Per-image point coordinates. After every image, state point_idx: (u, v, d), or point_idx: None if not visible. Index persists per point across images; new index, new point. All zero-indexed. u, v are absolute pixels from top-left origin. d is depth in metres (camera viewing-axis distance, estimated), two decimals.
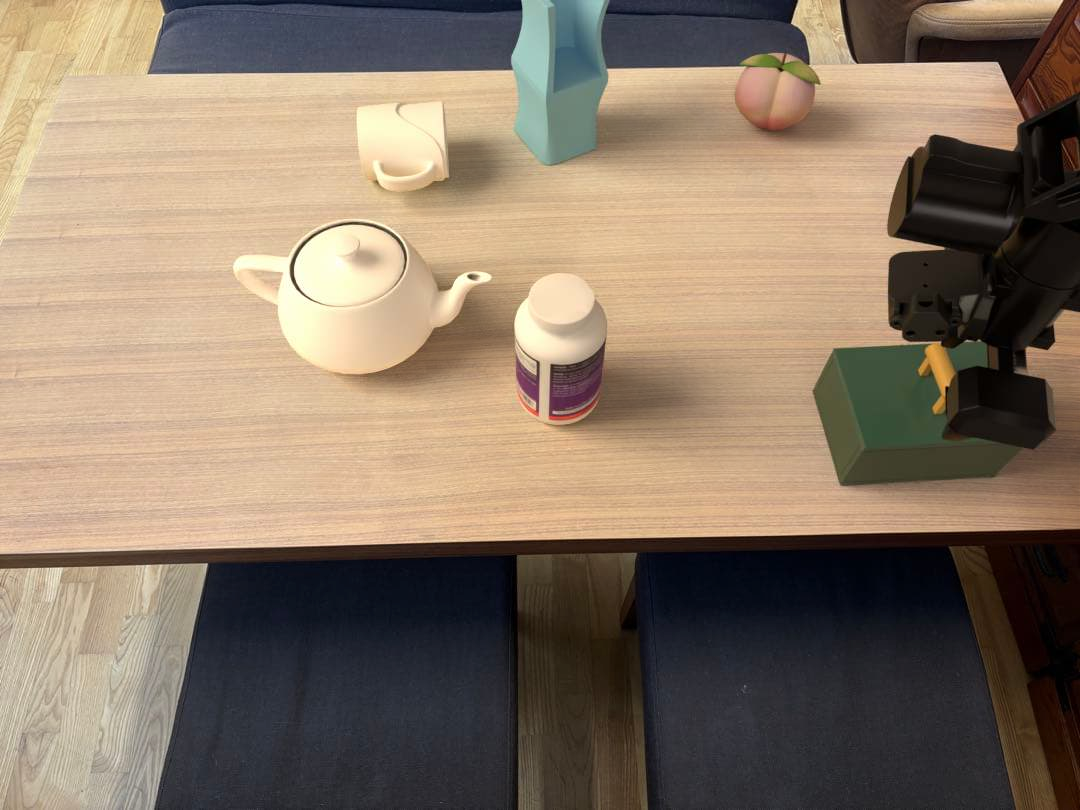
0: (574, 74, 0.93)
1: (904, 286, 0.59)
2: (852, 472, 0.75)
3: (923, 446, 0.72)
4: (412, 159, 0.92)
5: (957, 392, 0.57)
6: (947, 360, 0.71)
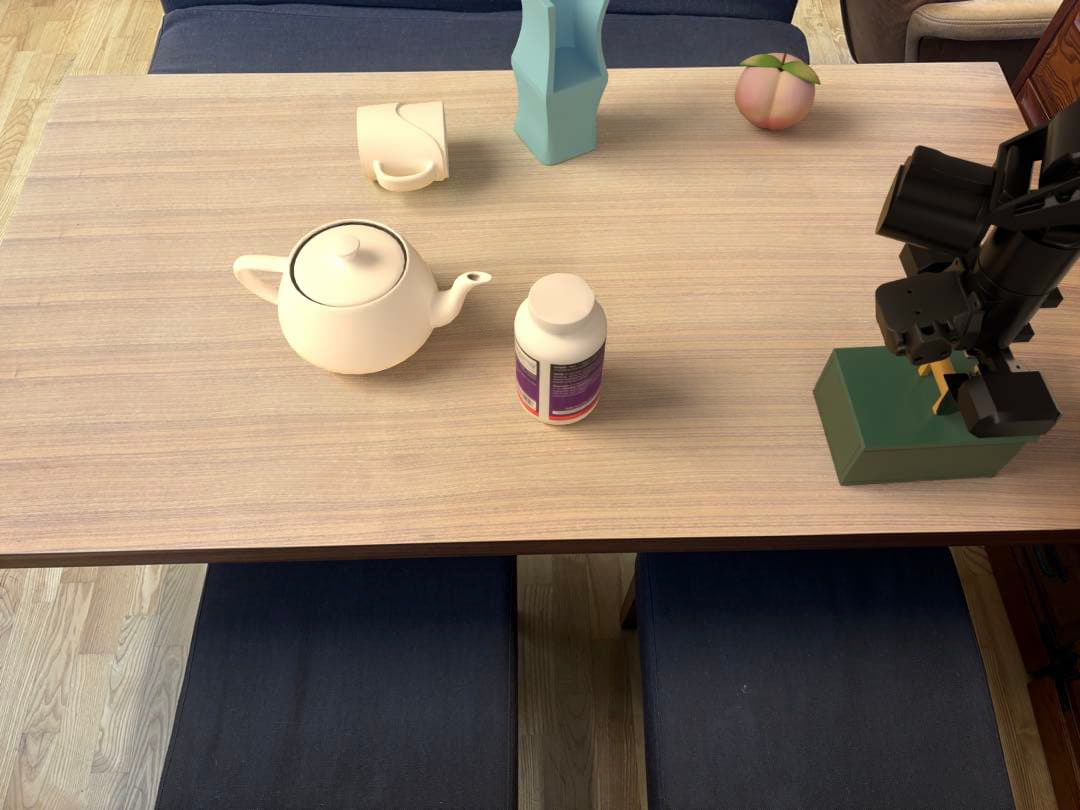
0: (574, 74, 0.93)
1: (899, 316, 0.63)
2: (852, 472, 0.75)
3: (923, 446, 0.72)
4: (412, 159, 0.92)
5: (970, 401, 0.62)
6: (947, 360, 0.71)
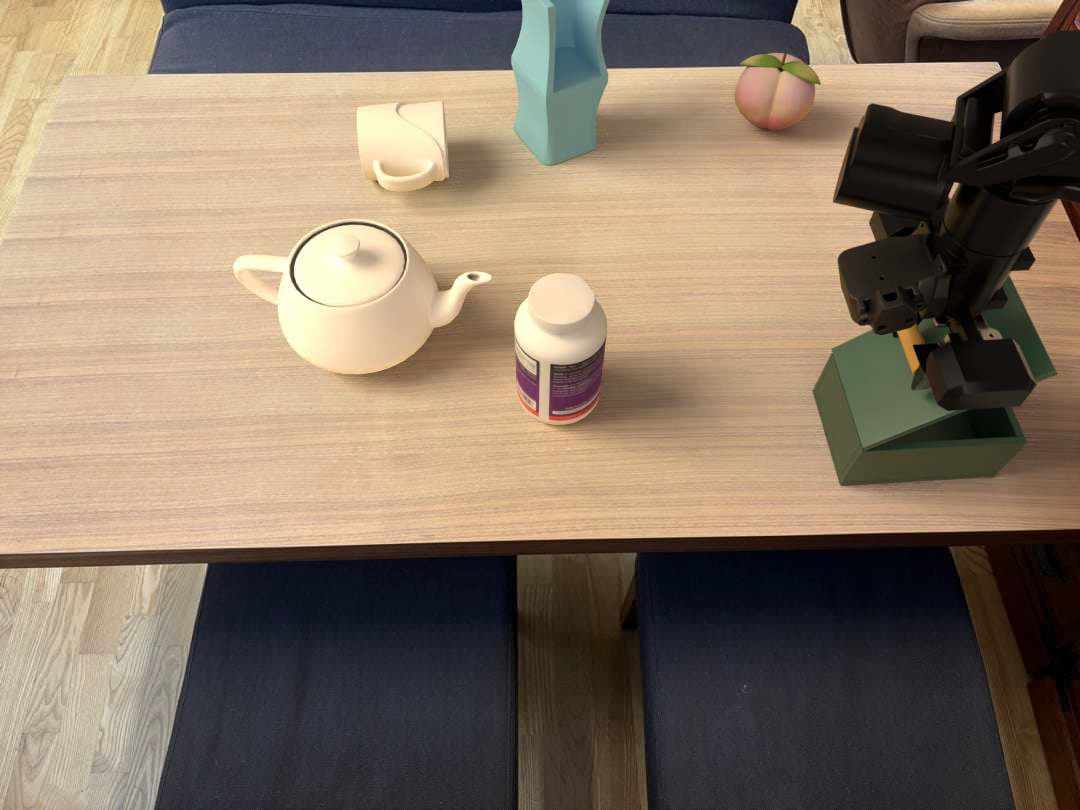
0: (574, 74, 0.93)
1: (861, 283, 0.60)
2: (852, 472, 0.75)
3: (923, 425, 0.69)
4: (412, 159, 0.92)
5: (938, 372, 0.59)
6: (910, 334, 0.68)
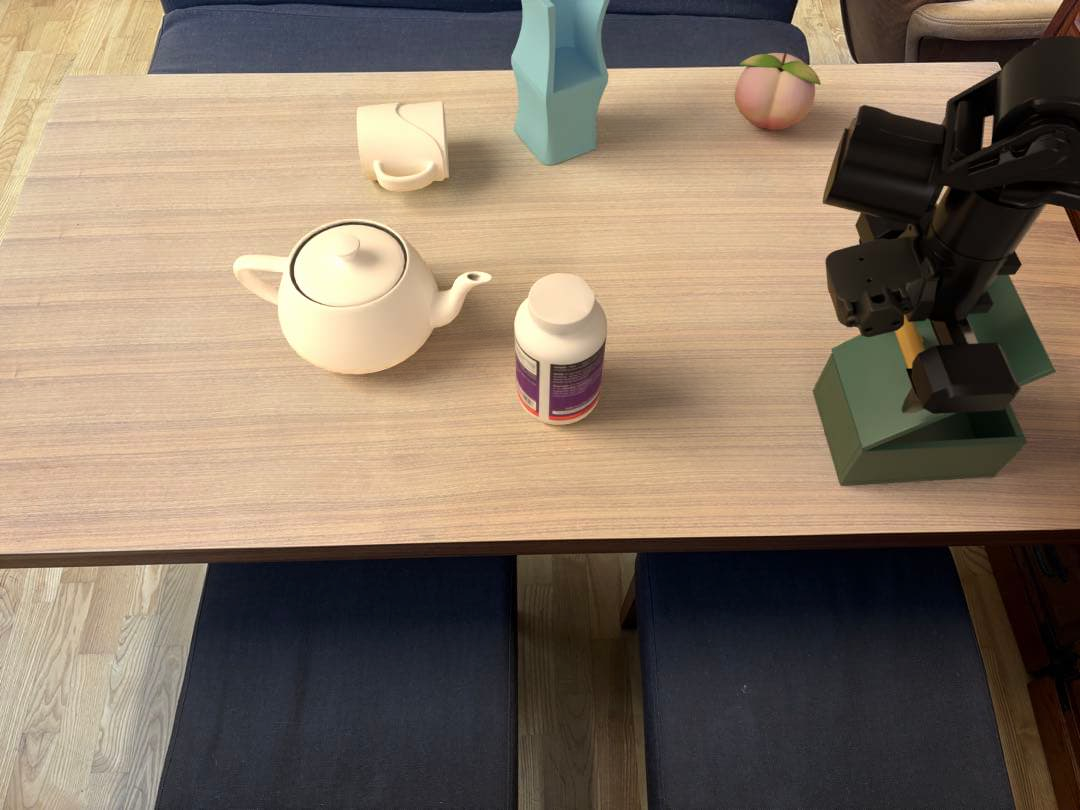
0: (574, 74, 0.93)
1: (849, 285, 0.60)
2: (852, 472, 0.75)
3: (922, 425, 0.68)
4: (412, 159, 0.92)
5: (924, 374, 0.59)
6: (907, 334, 0.68)
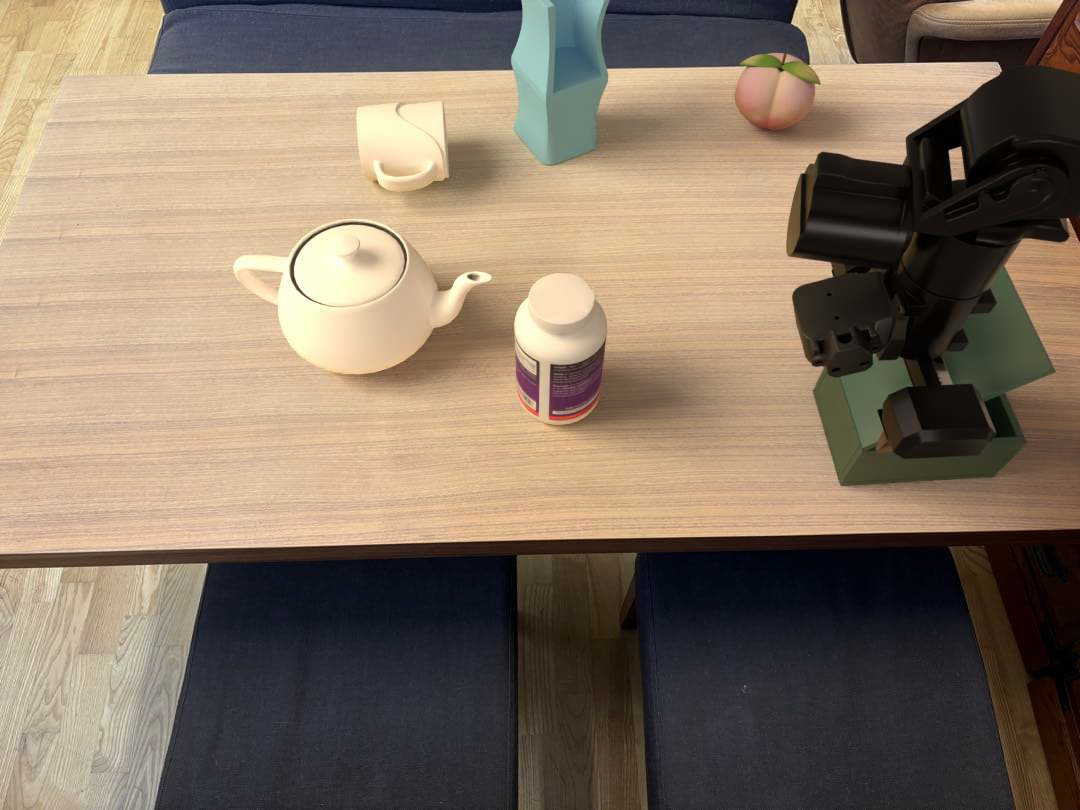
0: (574, 74, 0.93)
1: (816, 322, 0.57)
2: (852, 472, 0.75)
3: None
4: (412, 159, 0.92)
5: (894, 417, 0.56)
6: None
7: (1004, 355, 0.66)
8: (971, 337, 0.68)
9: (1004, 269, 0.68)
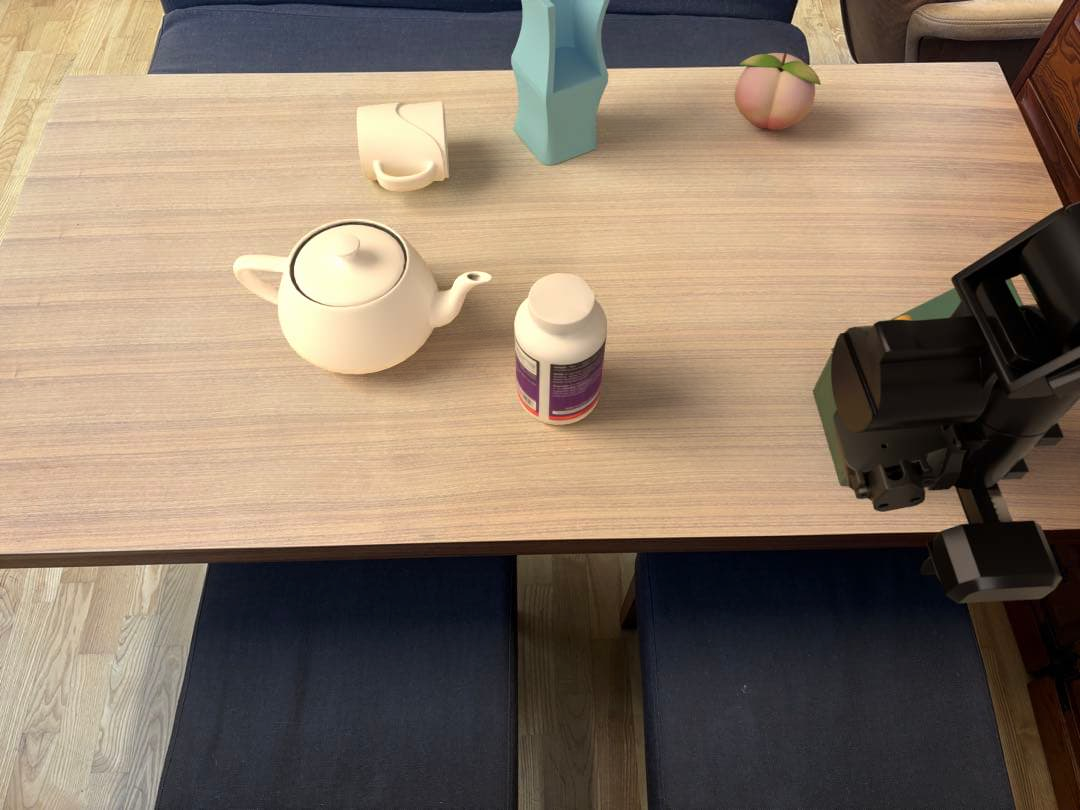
0: (574, 74, 0.93)
1: (861, 450, 0.51)
2: None
3: None
4: (412, 159, 0.92)
5: (948, 558, 0.50)
6: None
7: None
8: None
9: None
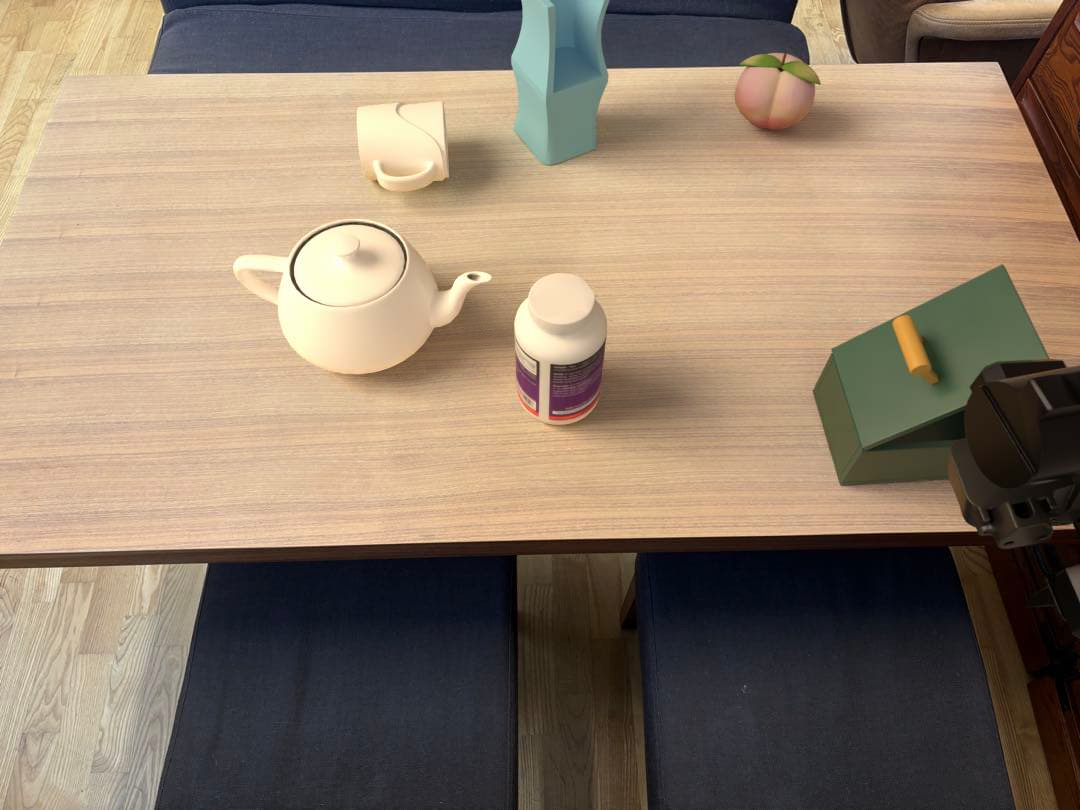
0: (574, 74, 0.93)
1: (983, 486, 0.50)
2: (852, 472, 0.75)
3: (922, 425, 0.68)
4: (412, 159, 0.92)
5: (1075, 596, 0.49)
6: (907, 334, 0.68)
7: (1004, 355, 0.66)
8: (971, 337, 0.68)
9: (1004, 269, 0.68)
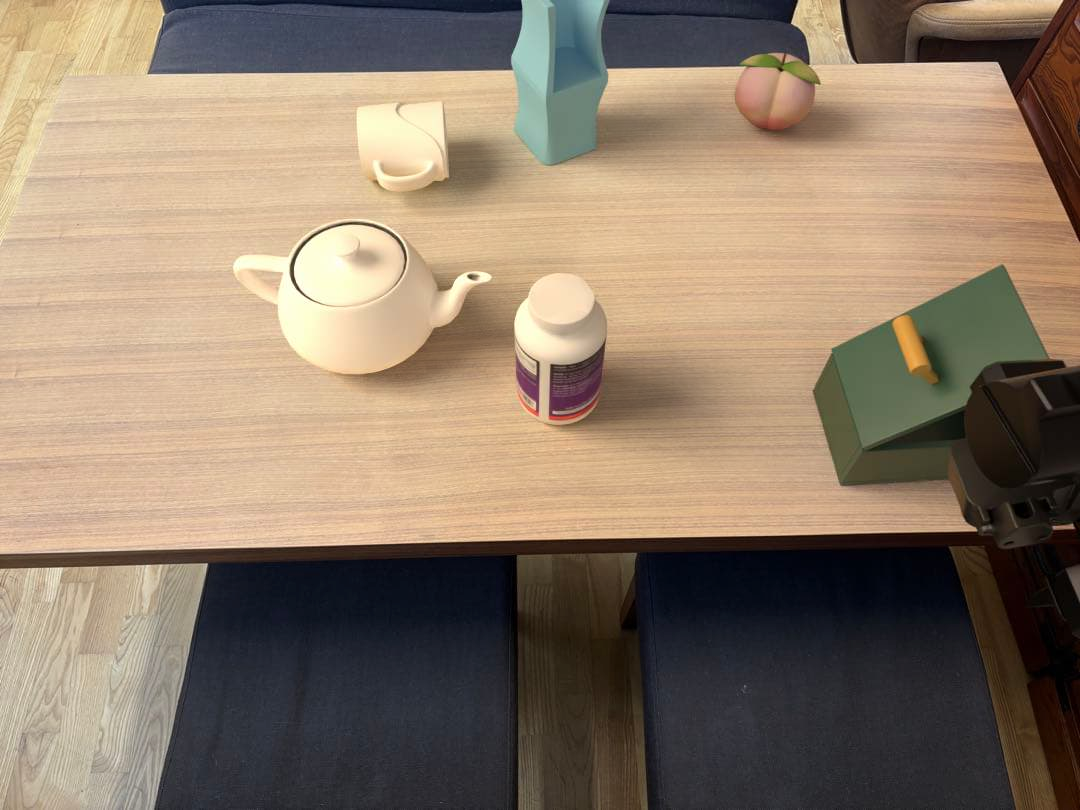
0: (574, 74, 0.93)
1: (983, 486, 0.50)
2: (852, 472, 0.75)
3: (922, 425, 0.68)
4: (412, 159, 0.92)
5: (1075, 596, 0.49)
6: (907, 334, 0.68)
7: (1004, 355, 0.66)
8: (971, 337, 0.68)
9: (1004, 269, 0.68)
